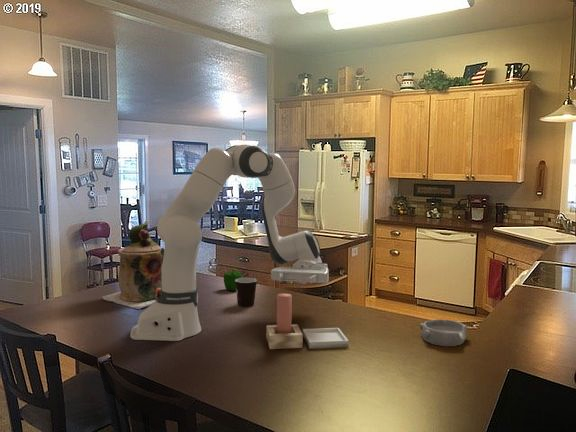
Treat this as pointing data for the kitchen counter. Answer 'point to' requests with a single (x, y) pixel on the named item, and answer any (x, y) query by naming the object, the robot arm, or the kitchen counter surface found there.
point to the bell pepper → (231, 279)
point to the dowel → (284, 313)
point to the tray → (325, 338)
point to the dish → (443, 332)
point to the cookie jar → (139, 270)
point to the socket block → (284, 338)
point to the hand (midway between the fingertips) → (294, 280)
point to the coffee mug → (245, 291)
